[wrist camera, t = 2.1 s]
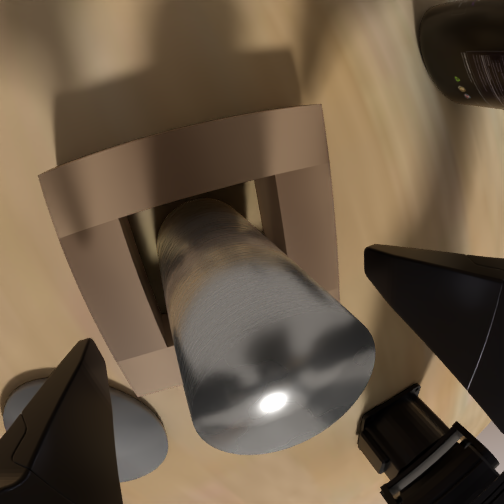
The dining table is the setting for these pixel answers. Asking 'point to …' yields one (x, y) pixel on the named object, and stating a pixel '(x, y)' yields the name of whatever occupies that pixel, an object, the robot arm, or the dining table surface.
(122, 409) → the coaster
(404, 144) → the dining table surface
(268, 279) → the peg
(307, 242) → the socket block
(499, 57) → the supplement bottle
